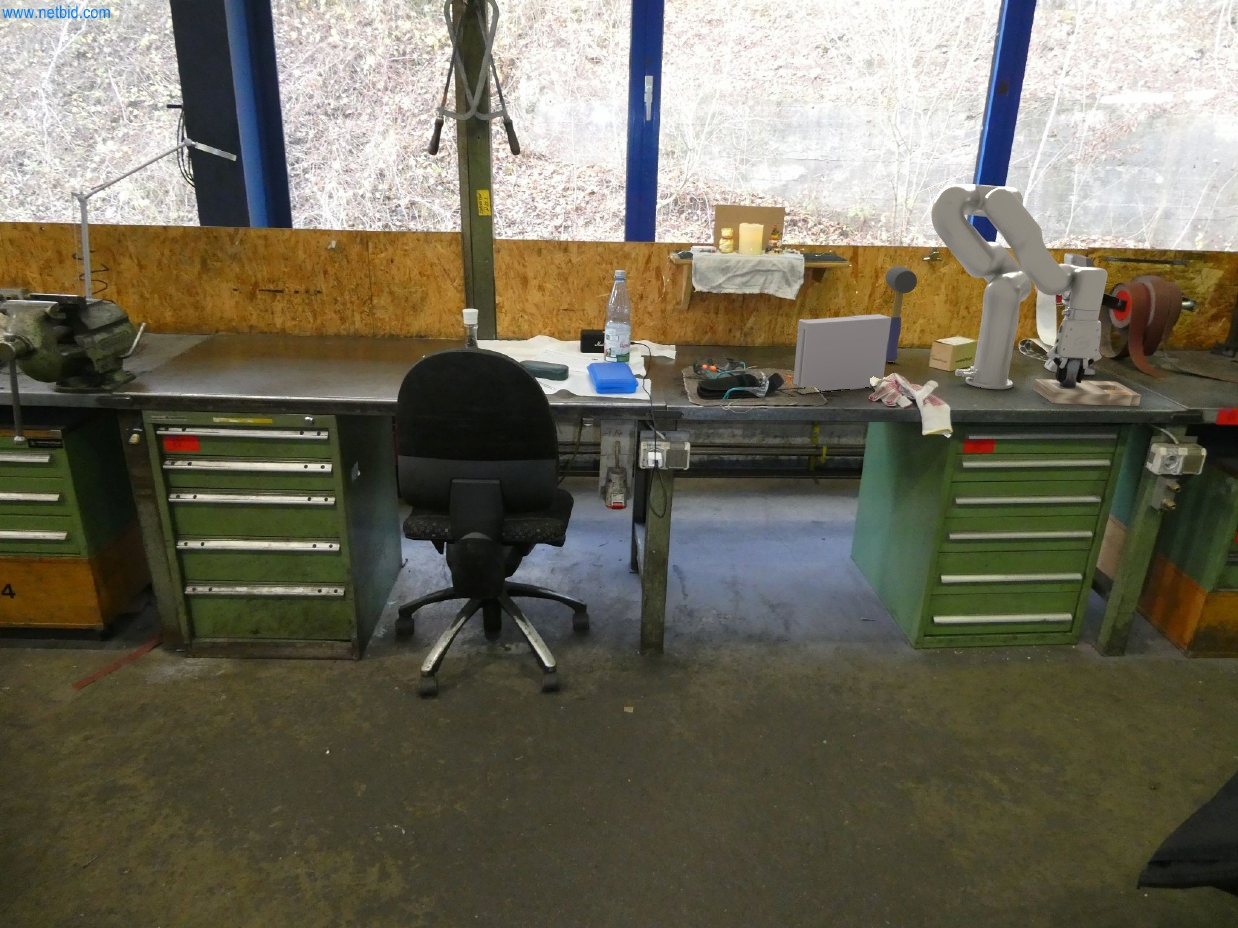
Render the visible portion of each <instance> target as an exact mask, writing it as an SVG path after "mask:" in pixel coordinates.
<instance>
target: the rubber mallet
mask: <svg viewBox="0 0 1238 928" xmlns="http://www.w3.org/2000/svg"><path fill="white" fill-rule="evenodd" d="M885 282H886V284H887V285H888V286H889V287H890V288H891V289H892V290H894V291H895V292H894V299H893V305H892V312H891V316H890V317H891V324H890V331H889V339H888V347H887V355H886V361H895V362H896V361H897V359H898V357H899V356H898V347H899V339H900V336H901V330H902V316H901V313H902V307H903V306H902V305H903V300H904V299H903V298H904V294H907V293H910V292H912V291H913V290H914V289H915V288H916V287H917V284H918V276H917V275H916V274H915V272H913V271H912V270H911V269H909V268H907V267H904V266H901V265H897V266H893V267H890V268H889V269H888V271H887V272H886V275H885Z"/></svg>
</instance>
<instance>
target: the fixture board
mask: <svg viewBox="0 0 1238 928" xmlns="http://www.w3.org/2000/svg"><path fill="white" fill-rule="evenodd" d="M1059 384H1060V382H1059V381H1057V380H1056V379H1050V378H1049V379H1046V378H1034V382H1033V387H1032V390H1033V391H1035V392H1036V393H1037V394H1039V395H1041V396H1042V397H1043V398H1044V399H1046V400H1047V399H1048V400H1047V401H1048V402H1050V403H1052V404H1068V405H1069V404H1070V405H1071V404H1072V405H1093V406H1094V405H1095V406H1097V405H1098V406H1122V407H1123V406H1125V407H1126V406H1127V407H1139V406H1140V401H1141V398H1142V394H1140V393H1139V392H1138V393H1137V392H1136V391H1134V390H1133V389H1131V388H1129V387H1128V386H1125V385H1123V384H1122V383H1119V382H1118V381H1108V380H1106V381H1105V380H1082V381H1081V383H1076V387H1075V388H1067V387H1062V386H1060V385H1059Z"/></svg>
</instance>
